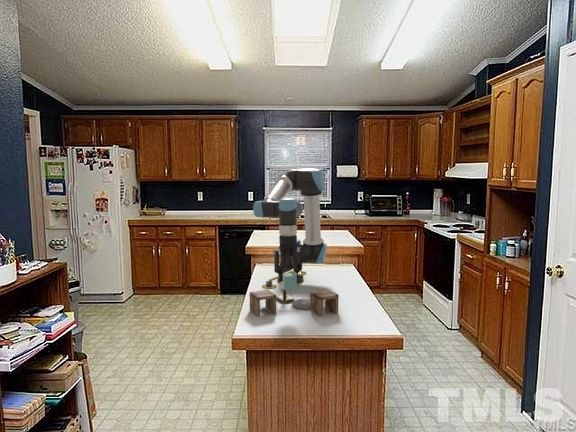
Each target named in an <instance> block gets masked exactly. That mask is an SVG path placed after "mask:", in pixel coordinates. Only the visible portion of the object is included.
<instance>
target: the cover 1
mask: <svg viewBox="0 0 576 432" xmlns="http://www.w3.org/2000/svg"><path fill="white" fill-rule="evenodd" d="M276 296H277V294H275V292H273V291H271V290H270V289H263V290H256V291H255V290H254V291H249V312H251V313H252V314H253V315H254V316H255V317H257V318H260V317H261V301H263V300H264V301H265V309H267V310H268V311H269V312H270V313H272V314H273V315H276V314H277V300H276Z"/></svg>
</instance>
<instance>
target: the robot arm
mask: <svg viewBox="0 0 576 432" xmlns="http://www.w3.org/2000/svg"><path fill="white" fill-rule="evenodd" d="M325 185H326V181H325V175H324V172H323V171H322V169H318V168H298V169H297V168H294V169H289V170H287V171H285V172H282V173H281V174H280V175H279V176H278V177H277V178H276V179H275V181H274V184H273V187H272V188H271V189H270V190H269V192H268V193H267V194H266V196H265V197H264V199H263V200H258V201H255V202H254V204H253V208H252V211H253V215H254V217H256V218H261V219H264V218H269V219H270V218H271V219H272V218H273V219H274V218H276V219H278V222H279V225H278V229H279V230H278V231H279V232H278V234H279V237H278V238H279V240H278V241H279V242H278V243H279V246H278V248H277V249H273V251H272V252H273V255H274V265H273V266H274V267H273V268H274V270H273V271H274V273H275V274H277V276H278V275H279V278H278V279H276V280H277V282H280V289H282V290H283V289H285V274H283V273H285V272H288V271H290V270H292V269H294V271H292V272H291V273H292V274H294V275H296V288H297V286H298V284H299V283H301V282H303V281H304V280H305V279H304V275H303V276H298V273H299V271H303V264H312V265H313V264H314V265H317V264H319V265H321V264H323V263H325V260H326V257H327V256H326V255H327V249H328V245H327V243H325V242H324V239H323V238H322V237H321V236H322V235H321V234H322V233H321V231H322V230H321V229H322V228H321V206H320V204H321V203H320V197H321V196H322V194H323V192H324V191H325V188H326V186H325ZM292 191H293V192H295V191H298V192H300V195H301V197H302V198H303V204H302V203H301V202H300V201H298V200H297V199H296V198H291V197H290V198H288V197H287V198H285V196H286V195H287V194H288V193H290V192H292ZM303 213H304V214H303ZM302 214H303V215H304V231H305V233H304V234H305V235H304V236H305V238H304V239H303V240H302V242H301V240H300V239H298V235H297V233H298V232H297V231H298V229H297V228H298V221H297V220H298V219H297V218H299V217H300V216H301V215H302Z"/></svg>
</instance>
